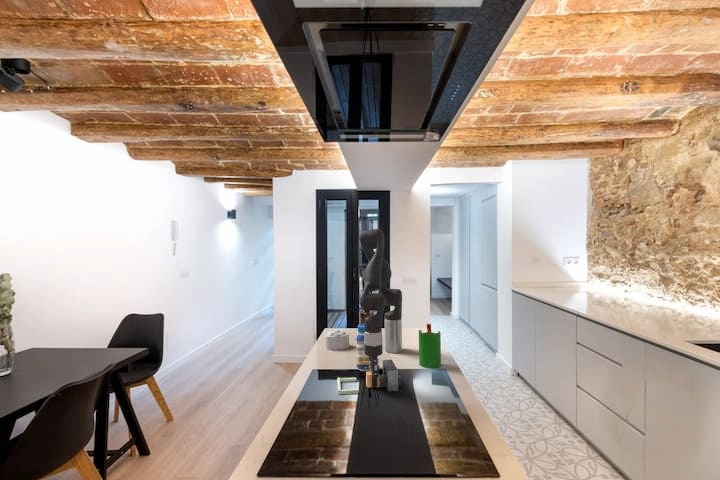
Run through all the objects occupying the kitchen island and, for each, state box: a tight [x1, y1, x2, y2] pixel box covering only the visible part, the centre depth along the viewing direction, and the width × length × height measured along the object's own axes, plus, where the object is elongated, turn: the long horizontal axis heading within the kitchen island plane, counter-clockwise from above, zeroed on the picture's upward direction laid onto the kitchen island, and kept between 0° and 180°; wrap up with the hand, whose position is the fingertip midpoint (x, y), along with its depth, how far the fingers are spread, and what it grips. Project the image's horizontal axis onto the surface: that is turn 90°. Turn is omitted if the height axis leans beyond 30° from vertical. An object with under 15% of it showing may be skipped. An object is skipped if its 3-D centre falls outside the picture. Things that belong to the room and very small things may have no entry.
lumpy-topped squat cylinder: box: [325, 329, 350, 351], centre depth 185 cm, size 10×13×9 cm
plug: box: [365, 371, 402, 388], centre depth 134 cm, size 14×4×5 cm, turn 96°
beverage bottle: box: [355, 323, 370, 372], centre depth 152 cm, size 8×8×20 cm
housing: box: [382, 359, 399, 392], centre depth 134 cm, size 4×12×8 cm, turn 6°
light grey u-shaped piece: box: [336, 377, 360, 395], centre depth 132 cm, size 12×8×2 cm, turn 6°
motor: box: [418, 322, 442, 369], centre depth 156 cm, size 10×9×20 cm
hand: (373, 384), depth 133 cm, fingers closed on plug, 3 cm apart
